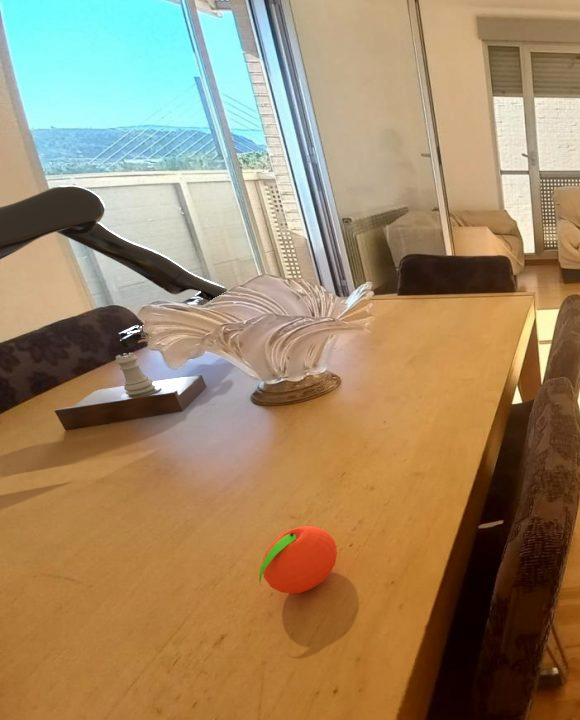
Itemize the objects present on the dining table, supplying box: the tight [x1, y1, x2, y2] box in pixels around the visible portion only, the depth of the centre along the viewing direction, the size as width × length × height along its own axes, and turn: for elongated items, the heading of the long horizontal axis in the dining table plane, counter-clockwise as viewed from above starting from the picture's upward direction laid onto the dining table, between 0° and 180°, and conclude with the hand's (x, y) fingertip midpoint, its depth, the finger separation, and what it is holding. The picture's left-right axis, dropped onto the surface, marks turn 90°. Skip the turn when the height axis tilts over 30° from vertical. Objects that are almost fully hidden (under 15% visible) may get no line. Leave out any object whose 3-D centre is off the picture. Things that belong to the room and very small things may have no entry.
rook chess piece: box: [114, 352, 155, 396], centre depth 94 cm, size 4×4×8 cm
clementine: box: [258, 525, 338, 595], centre depth 52 cm, size 8×7×7 cm
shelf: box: [54, 374, 208, 431], centre depth 96 cm, size 18×12×4 cm, turn 111°
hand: (150, 340), depth 101 cm, fingers open, 8 cm apart
